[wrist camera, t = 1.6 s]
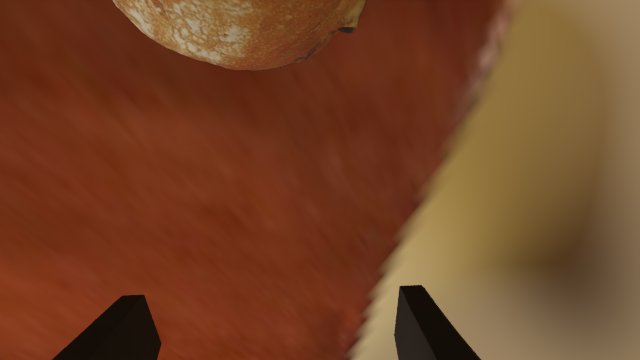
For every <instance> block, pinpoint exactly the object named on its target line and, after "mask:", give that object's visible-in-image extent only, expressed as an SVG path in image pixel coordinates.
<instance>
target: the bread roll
mask: <svg viewBox="0 0 640 360" xmlns="http://www.w3.org/2000/svg"><path fill="white" fill-rule="evenodd" d="M365 1H366V0H113V2H114V3H115V5H116V6H117V7H118V8H119V9H120V10H121V11H122V12H123V13H124V14H125V15H126V16H127V17H128V18H129V19H130V20H131V21H132V22H133V23H134V24H135V25H136V26H137V28H138V29H139V30H140V31H142V32H143V33H144V34H146V35H147V36H148V37H150V38H151V39H153V40H154V41H156V42H158V43H159V44H161V45H163V46H164V47H166V48H169V49H171V50H174V51H176V52H179V53H180V54H183V55H186V56H188V57H191V58H193V59H196V60H199V61H206V62H209V63H211V64H215V65H219V66H222V67H224V68H227V69H234V70H257V71H258V70H266V69H271V68H281V67H282V66H285V65H288V64H291V63H300V62H302V61H303V60H305V59H308V58H310V57H311V56H313V55H315V54H316V53H318V52H319V51H321V50H322V49H323V48H324V47H325V46H326V45H327V44H328V43H329V42H330V40H331V39H332V37H333V36H334V35H335V34H336V33H338V32H339V31H342V32H345V33H353V31H354V30H355V28H356V27H357V23H358V19H359V17H360V14H361V12H362V10H363V7H364V4H365Z"/></svg>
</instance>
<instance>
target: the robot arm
mask: <svg viewBox="0 0 640 360" xmlns="http://www.w3.org/2000/svg"><path fill="white" fill-rule="evenodd" d="M394 336H395V342H396V347H397V353H398V358H399V360H481V359H480V358H479V357H478V356H477V354H476V353H475V352H474V351H473V350H472V348H471V347H470V346H469V345H468V344H467V343H466V342H465V340H464V339H463V338H462V337H461V335H460V334H459V333H458V332H457V331H456V329H455V328H454V327H453V325H452V324H451V323H450V322H449V320H448V319H447V318H446V317H445V315H444V314H443V312H442V311H441V310H440V309H439V307H438V306H437V305H436V303H435V302H434V301H433V299H432V298H431V297H430V295H429V294H428V292H427V291H426V290H425V288H424V287H423V286H422V285H416V286H415V285H414V286H400V289H399V297H398V307H397V316H396V324H395V334H394ZM160 347H161V341H160V338H159V335H158V333H157V330H156V327H155V324H154V321H153V319H152V316H151V313H150V310H149V307H148V305H147V302H146V299H145V296H144V295H128V296H122V297H120V298H119V299H118V300H117V301H116V302H115V303H114V304H112V305H111V306H110V307H109V308H108V309H107V310H106V311H105V312H104V313H103V314H101V315H100V316H99V317H98V318H97V319H96V320H95V321H94V322H93V323H92V324H91V325H90V326H88V327H87V328H86V329H85V330H84V331H83V332H82V333H81V334H80V335H79V336H78V337H77V338H75V339H74V340H73V341H72V342H71V343H70V344H69V345H68V346H67V347H65V348H64V349H63V350H62V351H61V352H60V353H59V354H58V355H57V356H56V357H54V358H53V359H52V360H157V358H158V354H159V350H160Z"/></svg>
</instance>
